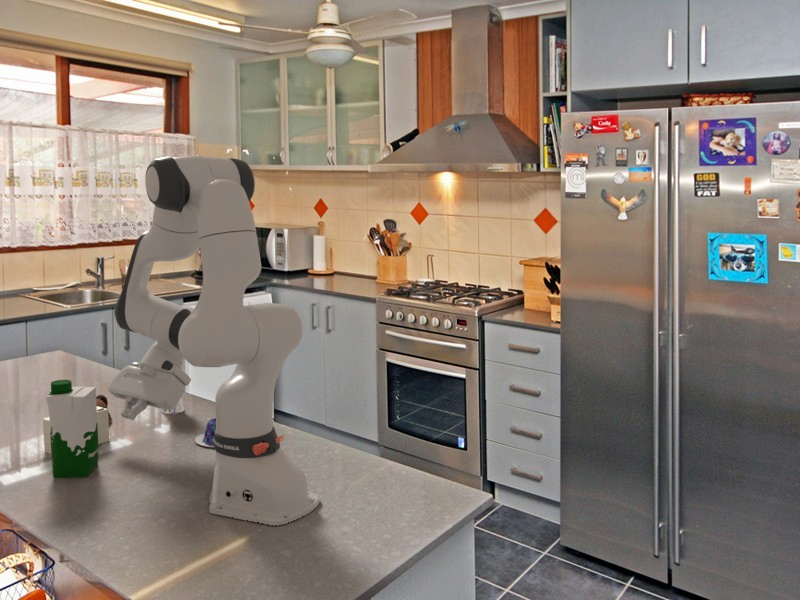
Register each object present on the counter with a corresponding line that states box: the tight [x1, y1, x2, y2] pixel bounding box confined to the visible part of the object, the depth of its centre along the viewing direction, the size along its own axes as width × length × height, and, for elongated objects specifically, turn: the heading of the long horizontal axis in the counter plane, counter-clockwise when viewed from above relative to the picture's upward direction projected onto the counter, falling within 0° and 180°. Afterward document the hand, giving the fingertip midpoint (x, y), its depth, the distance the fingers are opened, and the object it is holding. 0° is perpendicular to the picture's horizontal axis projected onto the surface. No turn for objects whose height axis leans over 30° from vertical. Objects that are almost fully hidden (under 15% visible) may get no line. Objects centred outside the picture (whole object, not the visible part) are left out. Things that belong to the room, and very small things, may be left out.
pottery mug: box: [96, 394, 113, 425], centre depth 193 cm, size 12×10×8 cm
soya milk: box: [45, 379, 99, 479], centre depth 160 cm, size 9×9×20 cm
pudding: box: [194, 417, 216, 448], centre depth 182 cm, size 12×12×5 cm
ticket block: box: [42, 406, 110, 455], centre depth 175 cm, size 6×13×8 cm, turn 149°
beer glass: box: [160, 362, 186, 415], centre depth 202 cm, size 7×7×15 cm
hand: (126, 417), depth 171 cm, fingers closed
